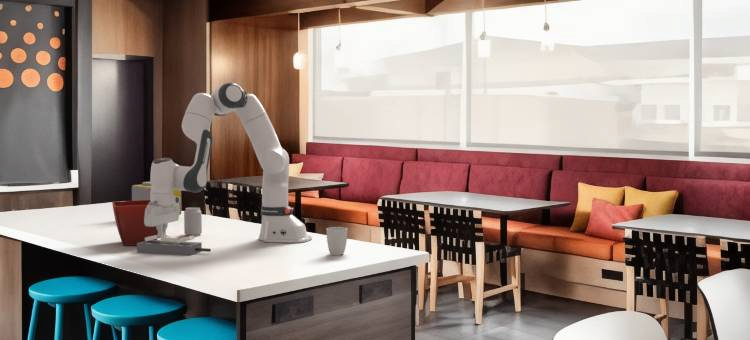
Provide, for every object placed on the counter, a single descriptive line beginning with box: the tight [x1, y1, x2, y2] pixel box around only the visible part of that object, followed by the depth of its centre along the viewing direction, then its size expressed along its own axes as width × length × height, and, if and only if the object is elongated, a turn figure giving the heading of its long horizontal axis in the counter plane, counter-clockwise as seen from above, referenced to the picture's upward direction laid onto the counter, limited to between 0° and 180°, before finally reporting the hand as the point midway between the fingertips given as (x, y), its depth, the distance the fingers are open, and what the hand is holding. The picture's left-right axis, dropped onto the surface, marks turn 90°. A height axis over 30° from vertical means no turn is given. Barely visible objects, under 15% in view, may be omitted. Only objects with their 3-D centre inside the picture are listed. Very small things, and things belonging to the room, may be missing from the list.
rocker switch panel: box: [136, 239, 212, 256], centre depth 332 cm, size 29×9×4 cm, turn 73°
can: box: [183, 206, 203, 237], centre depth 375 cm, size 8×8×12 cm
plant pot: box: [112, 200, 158, 246], centre depth 353 cm, size 19×19×17 cm
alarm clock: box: [131, 181, 182, 216], centre depth 427 cm, size 20×16×18 cm
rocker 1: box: [145, 235, 161, 242], centre depth 335 cm, size 6×3×2 cm, turn 73°
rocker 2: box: [160, 234, 179, 242], centre depth 333 cm, size 6×3×2 cm, turn 74°
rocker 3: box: [177, 236, 195, 243], centre depth 331 cm, size 6×3×2 cm, turn 73°
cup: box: [325, 226, 349, 256], centre depth 328 cm, size 8×8×10 cm
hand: (161, 235), depth 333 cm, fingers closed, pressing on rocker 2
